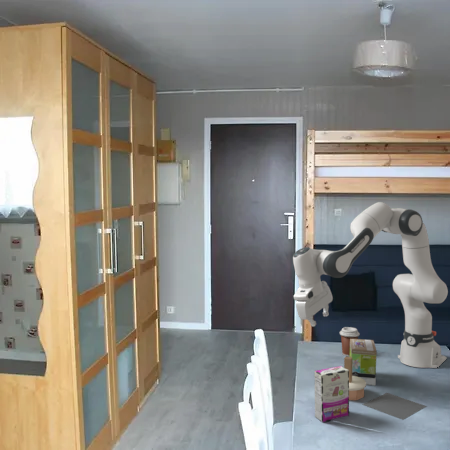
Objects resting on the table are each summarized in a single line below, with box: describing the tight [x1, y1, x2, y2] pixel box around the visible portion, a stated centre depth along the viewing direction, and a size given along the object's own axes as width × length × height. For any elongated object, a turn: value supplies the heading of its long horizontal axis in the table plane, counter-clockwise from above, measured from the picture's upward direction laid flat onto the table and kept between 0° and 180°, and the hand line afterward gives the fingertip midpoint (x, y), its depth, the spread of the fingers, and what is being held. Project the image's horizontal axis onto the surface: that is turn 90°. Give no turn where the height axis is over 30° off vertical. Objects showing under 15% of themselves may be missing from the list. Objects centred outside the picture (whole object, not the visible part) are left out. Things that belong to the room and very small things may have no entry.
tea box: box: [348, 338, 378, 386], centre depth 209 cm, size 15×10×15 cm
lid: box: [343, 356, 367, 391], centre depth 192 cm, size 13×13×10 cm
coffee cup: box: [339, 326, 361, 357], centre depth 240 cm, size 9×9×12 cm
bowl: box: [349, 388, 365, 401], centre depth 193 cm, size 11×11×4 cm
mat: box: [362, 392, 428, 421], centre depth 183 cm, size 16×16×1 cm
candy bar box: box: [314, 365, 350, 423], centre depth 175 cm, size 11×5×16 cm, turn 114°
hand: (320, 320), depth 206 cm, fingers open, 8 cm apart
